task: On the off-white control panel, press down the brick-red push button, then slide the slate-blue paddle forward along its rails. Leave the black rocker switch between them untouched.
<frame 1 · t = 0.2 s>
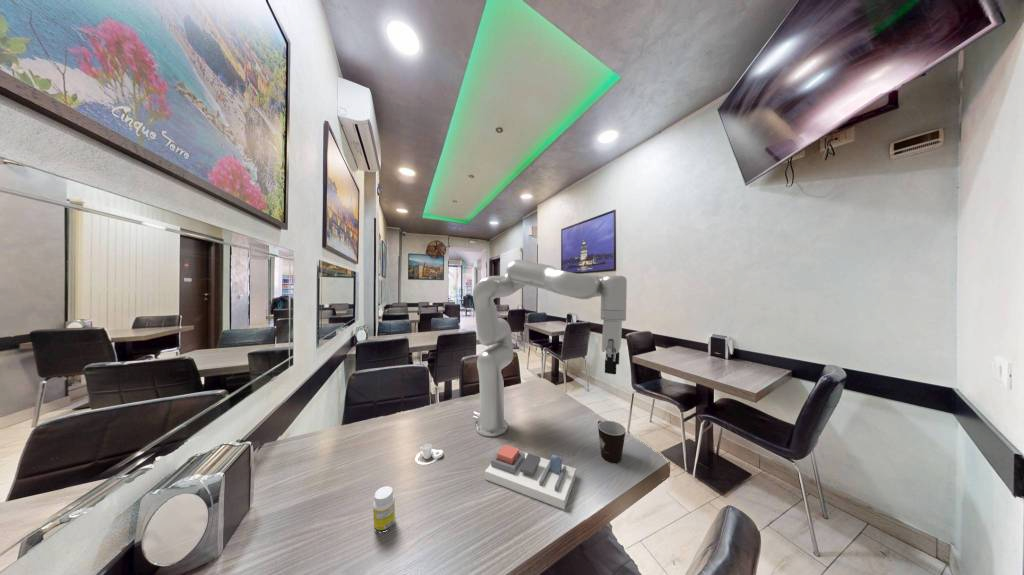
hand: (612, 368, 88), 31 cm above the table, tool pointing down, fingers open, 9 cm apart
paddle: (556, 463, 82), point 5 cm above the table, slide at 0.0 cm
coffee mug: (610, 454, 94), on the table
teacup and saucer: (430, 464, 90), on the table
button: (508, 454, 86), point 5 cm above the table, slide at 0.0 cm
rocker: (530, 464, 82), point 4 cm above the table, hinge at 10.0°
supplement bottle: (384, 525, 67), on the table
panel: (530, 477, 83), on the table
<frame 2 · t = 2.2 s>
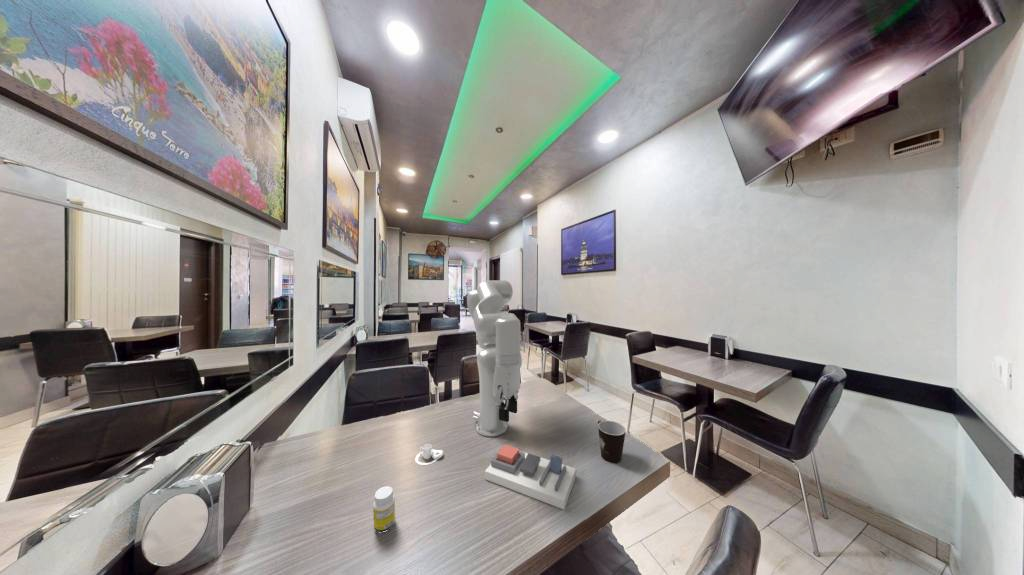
hand: (508, 415, 85), 17 cm above the table, tool pointing down, fingers open, 4 cm apart
nothing on the table moved.
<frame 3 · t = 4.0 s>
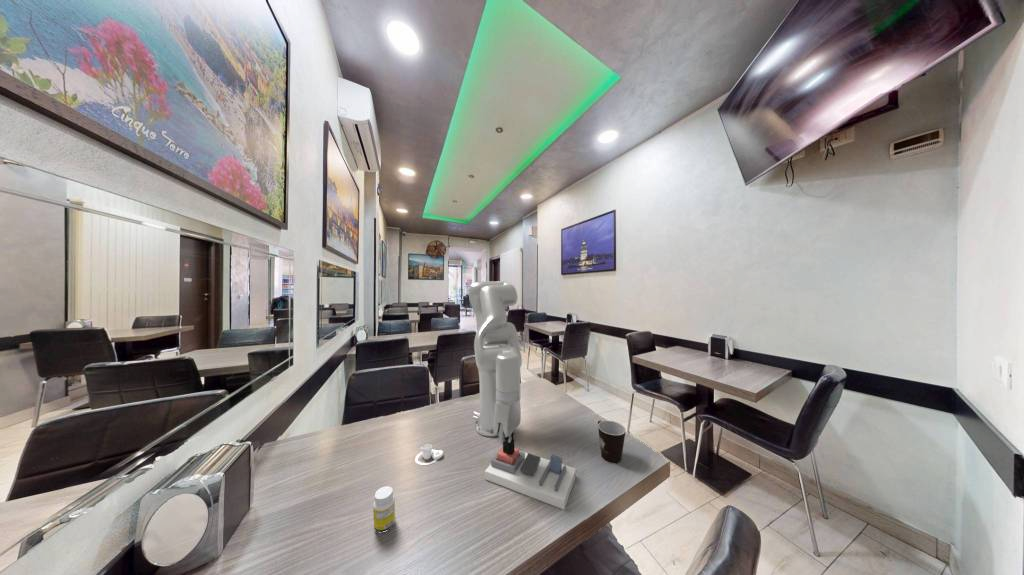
hand: (508, 452, 85), 6 cm above the table, tool pointing down, fingers closed
button: (508, 454, 86), point 5 cm above the table, slide at 0.0 cm, touching gripper
everything else where it was.
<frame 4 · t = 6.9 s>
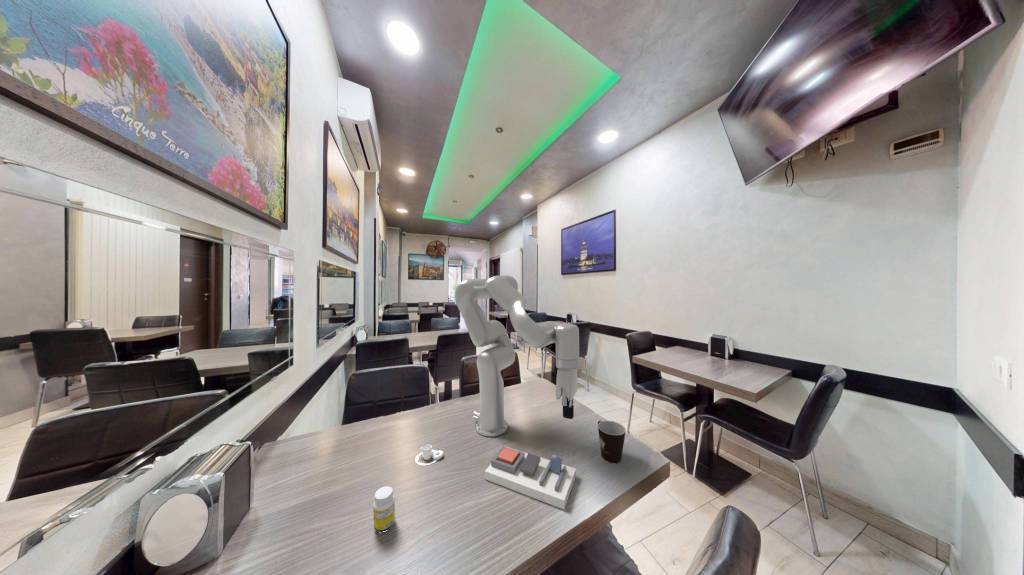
hand: (568, 417, 91), 14 cm above the table, tool pointing down, fingers closed
button: (508, 457, 86), point 4 cm above the table, slide at 0.9 cm
everything else where it was.
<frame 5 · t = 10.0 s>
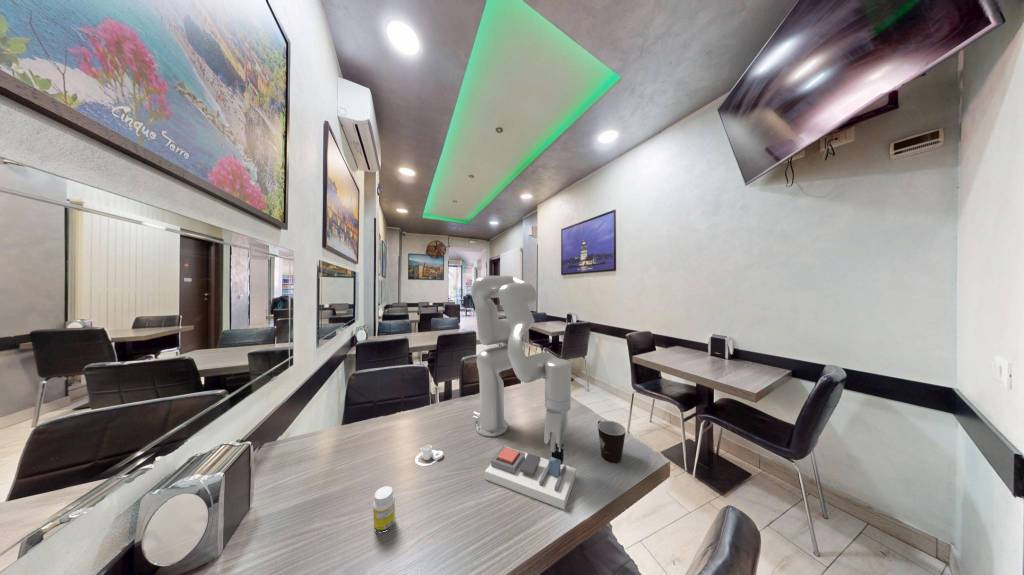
hand: (557, 461, 83), 5 cm above the table, tool pointing down, fingers closed
paddle: (554, 466, 80), point 5 cm above the table, slide at 1.3 cm, touching gripper
everything else where it was.
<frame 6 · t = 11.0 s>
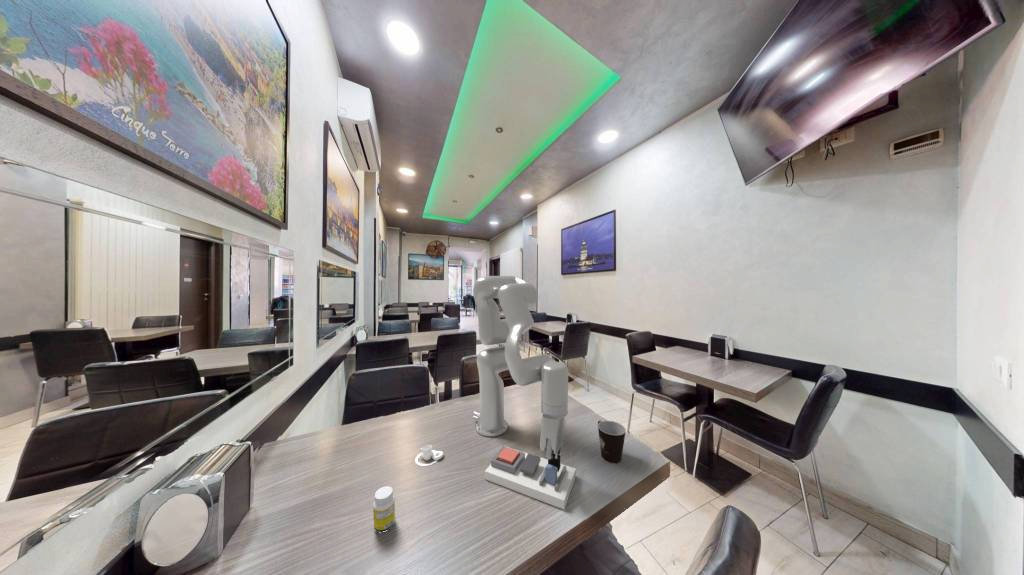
hand: (554, 468, 80), 5 cm above the table, tool pointing down, fingers closed
paddle: (551, 473, 77), point 5 cm above the table, slide at 4.5 cm, touching gripper
everything else where it was.
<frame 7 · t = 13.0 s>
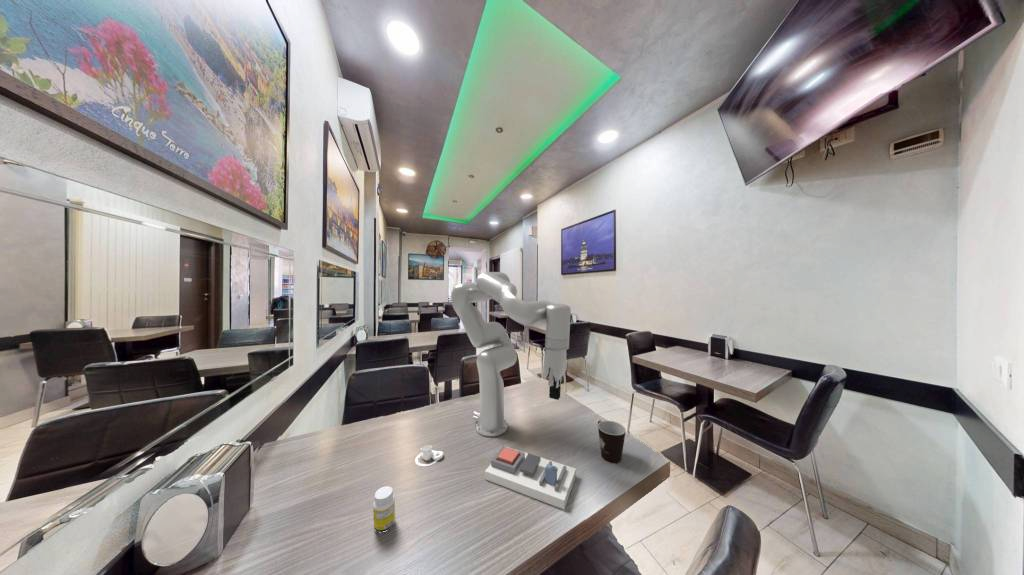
hand: (554, 397, 90), 21 cm above the table, tool pointing down, fingers closed
paddle: (551, 473, 77), point 5 cm above the table, slide at 4.6 cm
everything else where it was.
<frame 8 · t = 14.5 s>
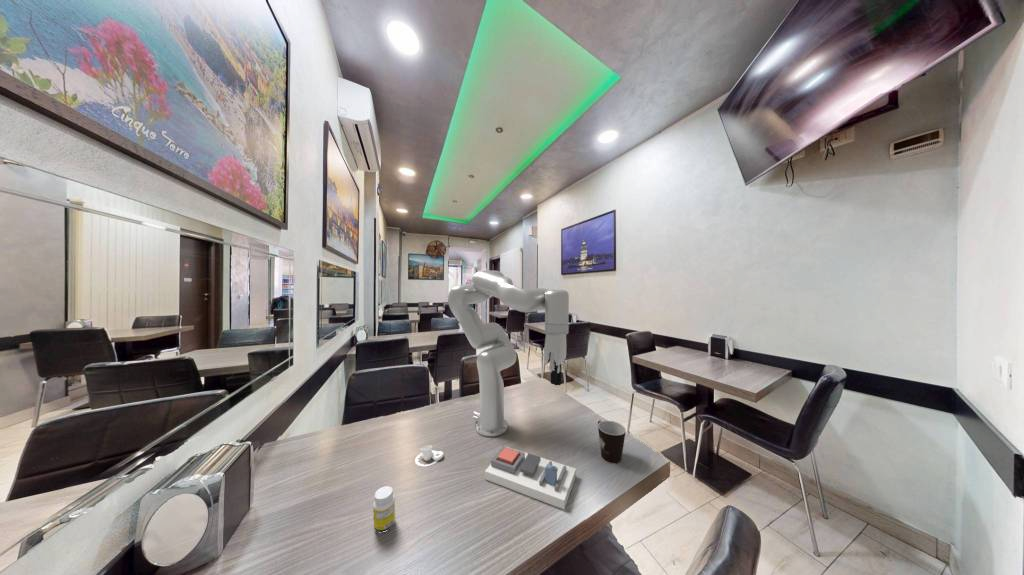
hand: (556, 383, 90), 25 cm above the table, tool pointing down, fingers closed
nothing on the table moved.
at the end: button slide at 0.9 cm; paddle slide at 4.6 cm; rocker at +10° (first picture: +10°) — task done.
